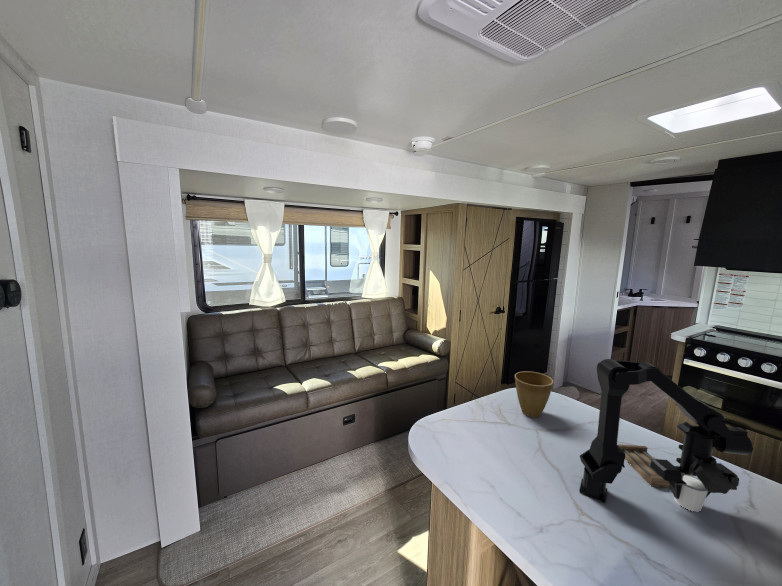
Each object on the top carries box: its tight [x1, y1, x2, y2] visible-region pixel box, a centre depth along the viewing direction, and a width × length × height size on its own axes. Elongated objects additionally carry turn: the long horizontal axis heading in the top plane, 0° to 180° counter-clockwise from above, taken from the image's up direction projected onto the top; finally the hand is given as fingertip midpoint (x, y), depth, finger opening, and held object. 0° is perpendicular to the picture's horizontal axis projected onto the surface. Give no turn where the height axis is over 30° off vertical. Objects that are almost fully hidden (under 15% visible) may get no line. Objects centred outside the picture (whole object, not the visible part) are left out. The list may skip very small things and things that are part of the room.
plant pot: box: [514, 370, 554, 418], centre depth 134 cm, size 15×15×16 cm
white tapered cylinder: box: [673, 475, 708, 513], centre depth 87 cm, size 7×7×7 cm
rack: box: [617, 443, 671, 488], centre depth 102 cm, size 16×9×3 cm, turn 175°
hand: (688, 498), depth 88 cm, fingers closed on white tapered cylinder, 6 cm apart
